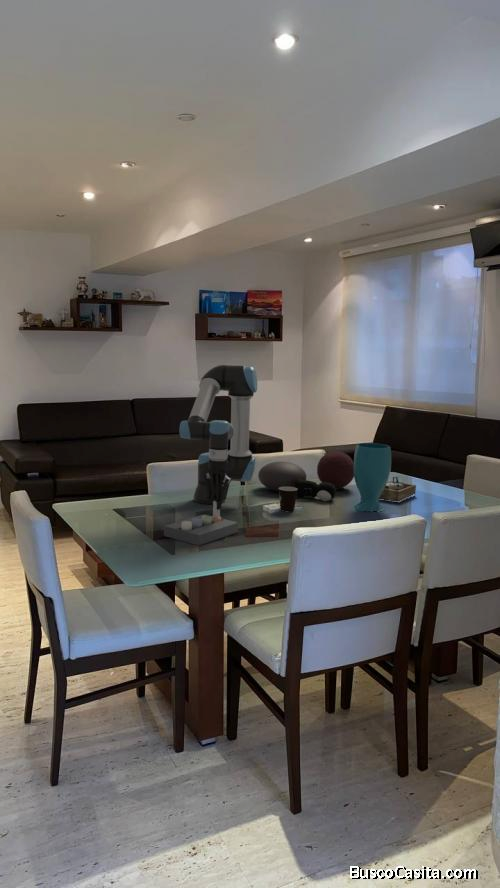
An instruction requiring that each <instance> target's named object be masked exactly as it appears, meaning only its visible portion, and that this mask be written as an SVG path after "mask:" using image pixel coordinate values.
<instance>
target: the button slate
mask: <svg viewBox="0 0 500 888" xmlns="http://www.w3.org/2000/svg"><path fill="white" fill-rule="evenodd" d="M192 518H193V517H192ZM192 527H195V528H200V527H202V519H200V518H193V519H192Z"/></svg>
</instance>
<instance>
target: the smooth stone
mask: <svg viewBox="0 0 500 888" xmlns="http://www.w3.org/2000/svg"><path fill="white" fill-rule="evenodd" d="M257 478H258V480H259V482H260V483H261V485H263V486H264V487H265V488H268V489H269V490H274V491H276V492H279V488H280V487H294V488H295V484H296V481H297V480H298V479H302V480H307V473H306V471H305V470H304V469H303V468H302V467H301V466H299V465H297V464H296V463H293V462H289V461H282V460H281V461H272V462H269V463H268V464H266V465H265V464H264V466H262V467H261V468H260V470H259V471H258V475H257Z"/></svg>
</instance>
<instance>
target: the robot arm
mask: <svg viewBox="0 0 500 888" xmlns="http://www.w3.org/2000/svg"><path fill="white" fill-rule="evenodd" d="M198 387H199V391H198V393H197V396H196V398H195V401H194V403H193V406H192V409H191V411H190V414H189V417H188V420H182V421H180V423H179V436H180V438H182V439H186V440H196V441H198V440H201V441H209V445H208V452H204V453H201V454H199V455H198V460H197V461H198V462H197V485H196V488H195V492H194V494H193V501H194V502H195V503H198V504H202V505H211V508H212V516H213V517H215V518H216V517H219V516H220V517H221V510H222V504H224V503H225V502H226V500H227V498H228V497H227V496H228V491H229V488H230V484H231V482H240V483H241V482H250V481H251V480H252V477H253V475H254V470H255V465H256V457H254V456H252V455H253V452H252V451H251V450H250V415H251V414H250V413H251V412H250V411H251V410H250V409H251V399H252V398H253V397H254V395H255V394H254V393H257V391H258V377H257V372H256V370H255V368H254V367H253V366H249V365H248V366H247V365H230V364H228V365H226V364H222V365H221V364H219V365H216V366H214V367H211V369H209V370H208V371H206V373H204V375H202V377H201V379H200V382H199V384H198ZM221 391H223V392H224V391H225V392H226V391H227V394H228V397H229V398H230V399H231V402H230V403H231V405H230V407H231V409H230V410H231V411H230V422H229V421H227V420H222V419H221V420H220V419H219V420H217V419H215V420H211V421H208V419H209V415H210V413H211V410H212V407H213V404H214V402H215V398H216V396H217V395H218V394H219V393H220V392H221ZM229 441H230V449H229Z"/></svg>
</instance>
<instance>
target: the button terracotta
mask: <svg viewBox="0 0 500 888" xmlns="http://www.w3.org/2000/svg"><path fill="white" fill-rule="evenodd" d="M211 516H212V521H214V522H219V521H221V519H222V516H221V515H220V516H219V517H216V518H215V517H213V515H211Z"/></svg>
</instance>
